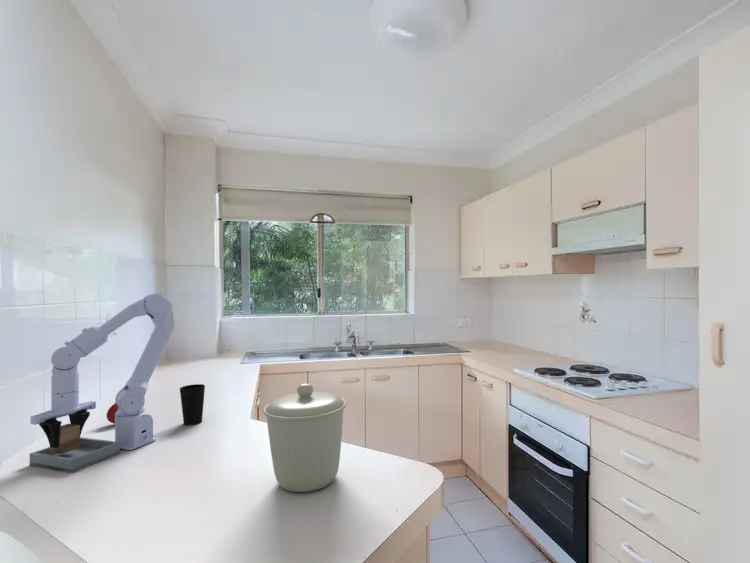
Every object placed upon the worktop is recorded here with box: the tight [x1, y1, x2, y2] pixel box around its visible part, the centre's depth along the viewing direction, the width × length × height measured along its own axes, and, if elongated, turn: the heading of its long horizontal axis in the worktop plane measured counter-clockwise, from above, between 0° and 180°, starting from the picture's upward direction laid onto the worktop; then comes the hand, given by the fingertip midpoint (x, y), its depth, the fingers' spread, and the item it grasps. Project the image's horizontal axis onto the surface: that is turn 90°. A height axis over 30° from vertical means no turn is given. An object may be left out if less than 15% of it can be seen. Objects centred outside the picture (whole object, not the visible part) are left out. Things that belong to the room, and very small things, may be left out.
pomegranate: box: [105, 402, 119, 425], centre depth 128 cm, size 6×6×8 cm
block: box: [49, 423, 81, 454], centre depth 100 cm, size 4×4×6 cm
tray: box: [29, 436, 121, 474], centre depth 99 cm, size 16×12×3 cm
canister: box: [262, 383, 347, 493], centre depth 83 cm, size 18×18×21 cm
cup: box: [179, 383, 206, 426], centre depth 127 cm, size 8×8×12 cm
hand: (65, 443), depth 100 cm, fingers closed on block, 4 cm apart
